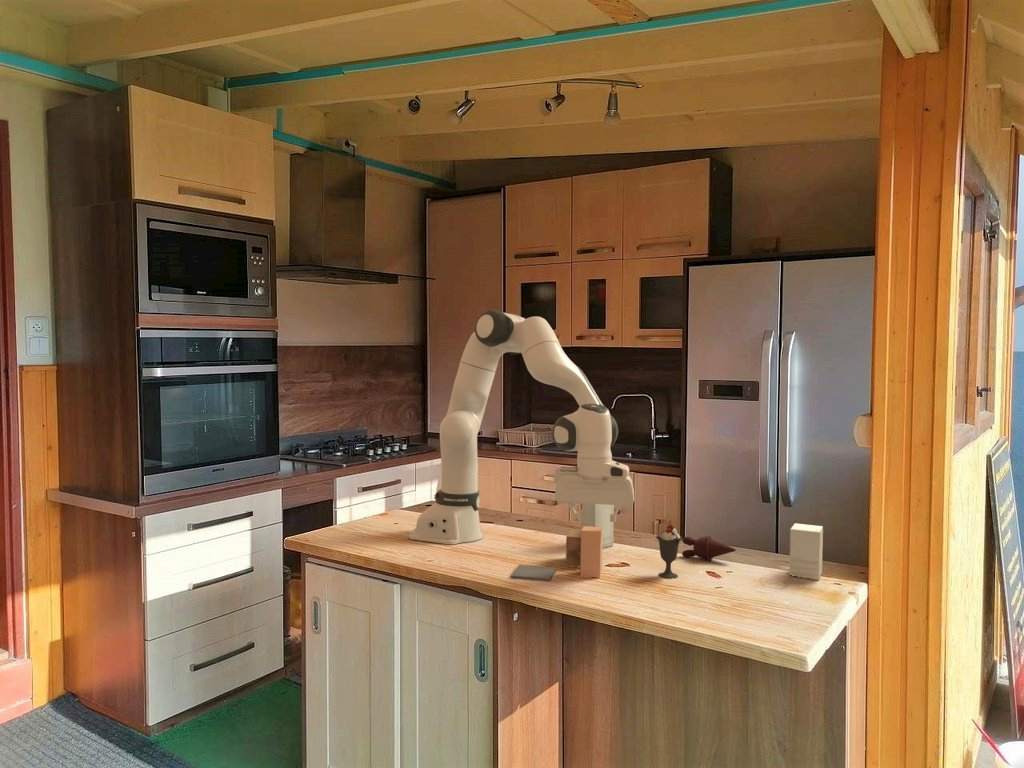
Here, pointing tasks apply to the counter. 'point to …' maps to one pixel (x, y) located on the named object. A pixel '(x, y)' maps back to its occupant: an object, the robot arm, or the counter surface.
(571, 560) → the lettered block
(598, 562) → the terracotta pillar
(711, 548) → the icecream
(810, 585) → the counter surface
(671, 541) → the sundae
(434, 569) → the counter surface
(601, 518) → the skincare box
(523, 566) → the grey mat
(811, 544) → the supplement box
